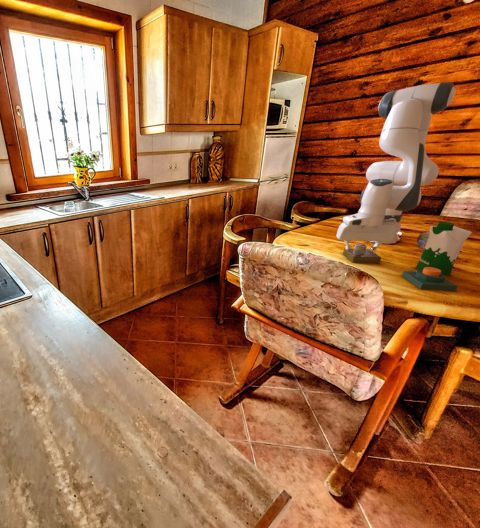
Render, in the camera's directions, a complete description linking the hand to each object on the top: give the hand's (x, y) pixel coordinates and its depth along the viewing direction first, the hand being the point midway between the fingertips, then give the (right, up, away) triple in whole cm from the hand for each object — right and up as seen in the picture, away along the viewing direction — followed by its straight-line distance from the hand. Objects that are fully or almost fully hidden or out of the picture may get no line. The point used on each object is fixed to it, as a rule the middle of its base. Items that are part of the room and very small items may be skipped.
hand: (360, 249), depth 123 cm
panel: (+2, -4, +3) cm, 5 cm away
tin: (+39, 0, +6) cm, 40 cm away
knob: (0, -2, +1) cm, 2 cm away
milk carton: (+19, -10, -12) cm, 24 cm away
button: (+8, -10, -21) cm, 25 cm away
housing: (+8, -13, -20) cm, 25 cm away
